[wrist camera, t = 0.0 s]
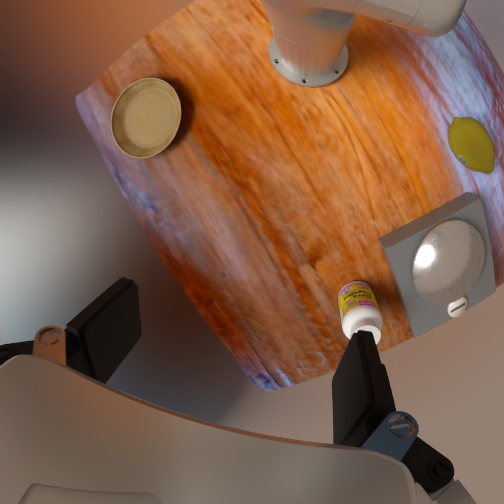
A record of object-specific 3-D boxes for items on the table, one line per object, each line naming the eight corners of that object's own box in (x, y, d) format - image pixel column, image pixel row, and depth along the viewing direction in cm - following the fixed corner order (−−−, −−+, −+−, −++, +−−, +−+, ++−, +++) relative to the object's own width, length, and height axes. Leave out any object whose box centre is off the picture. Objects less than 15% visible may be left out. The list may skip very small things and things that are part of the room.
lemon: (431, 127, 36) (453, 125, 29) (459, 108, 34) (483, 104, 26) (459, 181, 38) (482, 189, 31) (485, 161, 36) (509, 166, 28)
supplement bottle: (371, 276, 48) (388, 316, 36) (372, 307, 50) (387, 350, 38) (335, 282, 49) (343, 324, 37) (339, 313, 51) (345, 357, 40)
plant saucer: (129, 168, 48) (121, 170, 46) (111, 101, 44) (103, 100, 41) (196, 140, 45) (191, 140, 42) (175, 67, 40) (169, 64, 38)
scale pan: (400, 243, 39) (402, 246, 38) (472, 204, 34) (475, 205, 33) (422, 315, 42) (424, 318, 42) (486, 278, 38) (489, 281, 37)
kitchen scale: (378, 238, 45) (386, 250, 40) (466, 192, 39) (483, 198, 33) (407, 323, 50) (415, 340, 44) (484, 280, 43) (497, 293, 38)
